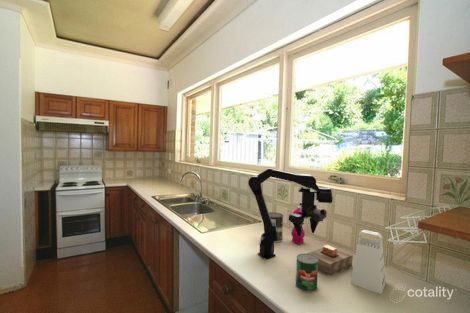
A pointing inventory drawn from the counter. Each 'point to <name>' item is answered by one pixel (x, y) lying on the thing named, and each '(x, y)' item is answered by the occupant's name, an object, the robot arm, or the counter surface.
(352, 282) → the grater
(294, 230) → the pepper mill
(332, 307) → the counter surface
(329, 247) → the tall wooden block
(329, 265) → the well block
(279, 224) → the coffee can
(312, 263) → the canned tomato
